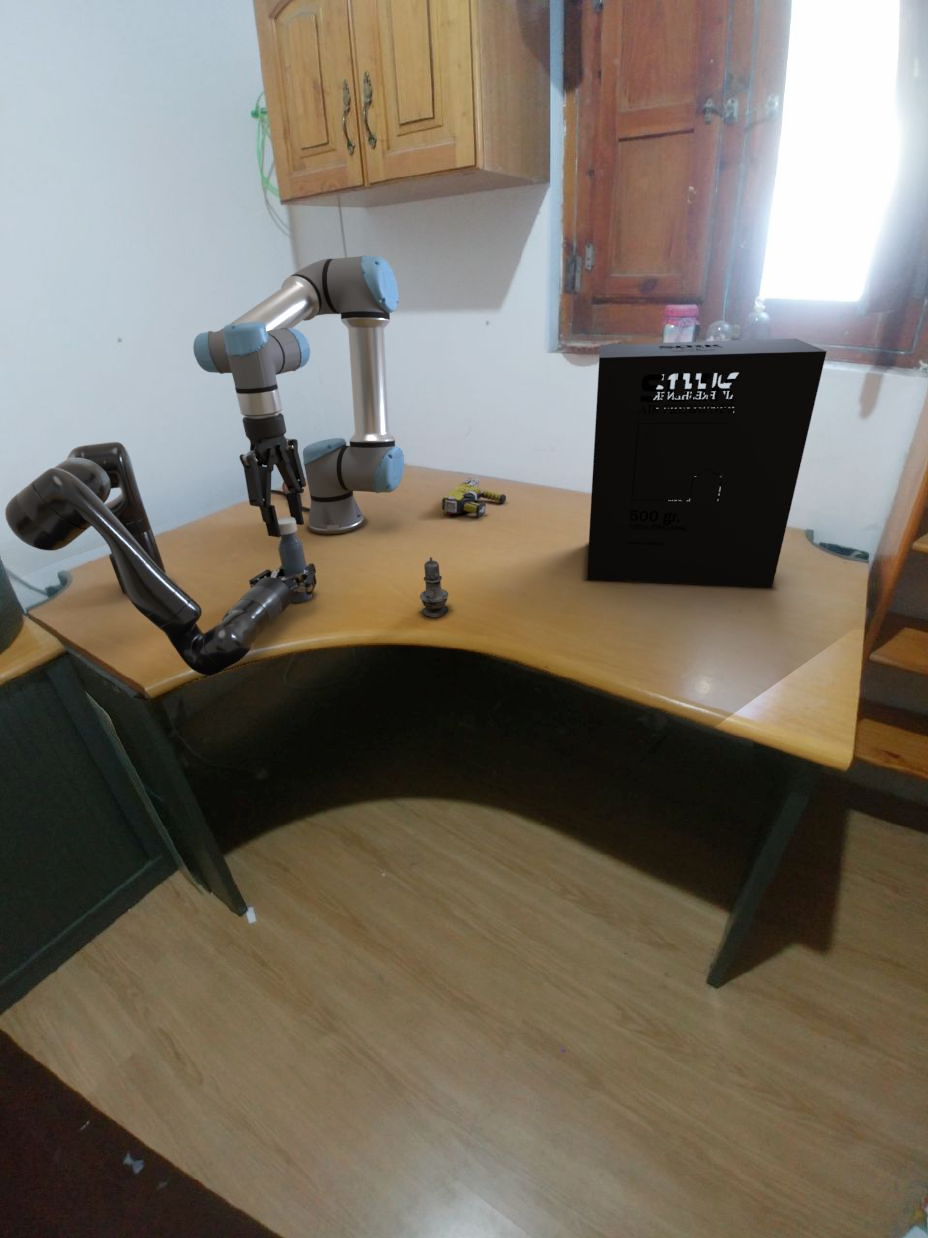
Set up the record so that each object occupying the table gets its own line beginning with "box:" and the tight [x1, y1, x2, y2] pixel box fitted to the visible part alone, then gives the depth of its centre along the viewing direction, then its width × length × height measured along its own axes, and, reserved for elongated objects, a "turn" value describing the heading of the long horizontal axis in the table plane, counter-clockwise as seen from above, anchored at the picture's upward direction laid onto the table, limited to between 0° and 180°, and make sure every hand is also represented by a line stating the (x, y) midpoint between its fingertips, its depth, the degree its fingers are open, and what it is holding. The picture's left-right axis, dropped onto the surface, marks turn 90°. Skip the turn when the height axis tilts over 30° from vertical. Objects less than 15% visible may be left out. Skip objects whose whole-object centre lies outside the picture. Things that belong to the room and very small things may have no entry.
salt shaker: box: [419, 556, 450, 618], centre depth 120 cm, size 6×6×12 cm
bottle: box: [277, 532, 313, 603], centre depth 128 cm, size 5×5×17 cm
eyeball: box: [281, 479, 299, 494], centre depth 192 cm, size 6×6×6 cm
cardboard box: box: [586, 338, 828, 589], centre depth 126 cm, size 38×20×45 cm, turn 78°
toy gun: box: [441, 477, 507, 518], centre depth 177 cm, size 5×24×15 cm
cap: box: [277, 516, 298, 535], centre depth 124 cm, size 4×4×2 cm
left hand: (300, 566), depth 131 cm, fingers closed on bottle, 5 cm apart
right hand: (286, 529), depth 124 cm, fingers open, 6 cm apart
